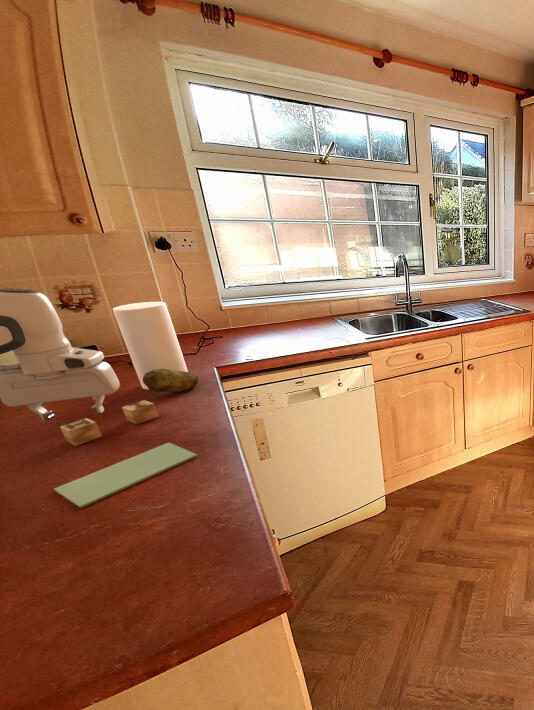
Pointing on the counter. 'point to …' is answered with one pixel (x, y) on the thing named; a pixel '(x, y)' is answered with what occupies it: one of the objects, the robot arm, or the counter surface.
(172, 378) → the potato
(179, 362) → the cylinder
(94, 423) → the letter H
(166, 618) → the counter surface
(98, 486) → the mat
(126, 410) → the tan boxy piece
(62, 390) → the robot arm
